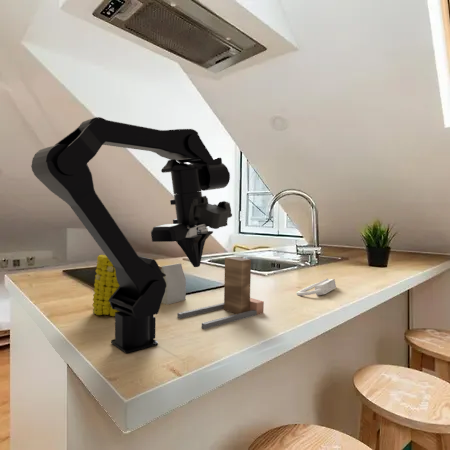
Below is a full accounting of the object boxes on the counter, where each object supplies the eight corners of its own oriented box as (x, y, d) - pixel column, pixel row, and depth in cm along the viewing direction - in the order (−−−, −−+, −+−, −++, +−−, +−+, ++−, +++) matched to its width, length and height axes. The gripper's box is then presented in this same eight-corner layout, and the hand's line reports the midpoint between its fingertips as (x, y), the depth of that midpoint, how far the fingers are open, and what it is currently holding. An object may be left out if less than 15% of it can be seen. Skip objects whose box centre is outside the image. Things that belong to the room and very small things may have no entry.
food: (86, 319, 86) (126, 313, 93) (106, 319, 78) (148, 313, 84) (84, 255, 89) (122, 254, 95) (103, 249, 80) (144, 248, 86)
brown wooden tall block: (240, 315, 85) (241, 260, 85) (224, 309, 90) (224, 257, 89) (249, 313, 87) (250, 259, 87) (232, 307, 92) (233, 256, 91)
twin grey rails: (204, 329, 76) (204, 315, 75) (177, 318, 83) (177, 305, 83) (263, 313, 88) (263, 301, 88) (235, 304, 95) (235, 293, 95)
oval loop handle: (317, 289, 123) (314, 278, 123) (340, 286, 119) (338, 275, 119) (293, 301, 106) (290, 288, 107) (319, 299, 102) (317, 285, 102)
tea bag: (185, 300, 99) (185, 264, 98) (167, 305, 94) (167, 267, 93) (176, 298, 101) (176, 262, 101) (157, 302, 96) (157, 265, 95)
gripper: (190, 194, 62) (200, 282, 64) (244, 186, 78) (251, 257, 80) (144, 198, 68) (155, 278, 70) (202, 190, 84) (210, 256, 86)
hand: (196, 266), depth 76 cm, fingers closed
